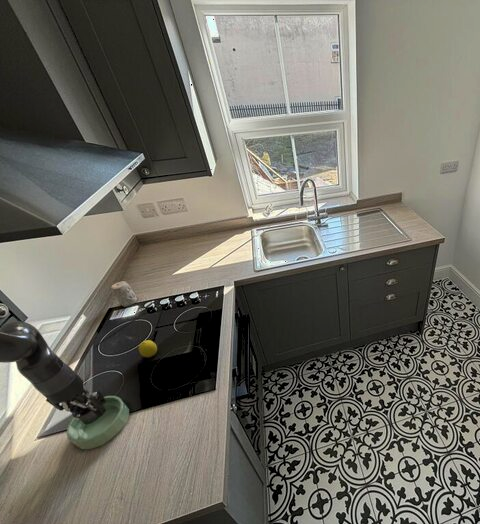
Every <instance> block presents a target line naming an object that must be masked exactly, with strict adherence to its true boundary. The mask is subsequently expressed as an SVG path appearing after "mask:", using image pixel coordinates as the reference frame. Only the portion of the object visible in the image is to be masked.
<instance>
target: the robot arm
mask: <svg viewBox="0 0 480 524" xmlns="http://www.w3.org/2000/svg"><path fill="white" fill-rule="evenodd" d="M3 325H4V326H3V327H2V328H1V330H0V363H3V364H4V363H5V364H9V363H15V364H16V369H17V371H18V372H19V374H20V375H21V376H22V377H23V378H24V379H26V380H27V381H29V383H31V385H32V386H33V387H34V388H35V390H37V391H38V392H39V393H40V394H41V395H42V396H43V397H45V398H46V399H45V401H46V402H47V403H49V404H50V405H51V406H52V407H54V408H55V409H57V410H58V411H60V412H61V411H64V410H65V412H67V413H68V412H70V413H71V414H72V413H73V410H74V409H75V407H76V406H77V405H78V406H80V407H82V408H89V409H91V410H93V412H94V413H95V414H96V415H98V416H99V417H100V416H103V414H104V413H105V411H106V409H105V408H104V407H103V405H104V403H105V402H106V400H105V398H104V397H105V396H104V395H103V394H102V393H101V392H100V391H99V390H98V389H95V390H94V391H93V392H90V391H89V390H88V389H87V390H86V389H85V388H84V384H85V383H84V380H83V379H82V378H81V376H79V374H78V373H76V371H75V370H74V369H73V368H71V366H69V365H68V364H67V363H65V362H64V361H63V360H62V359H61V358H60V357H59V356H58V354H56V353H55V352H54V351H53V350H52V349H51V347H50V346H49V344H48V342H47V340H46V339H45V338H44V337H43V334H41V332H40V331H39V330H38V328H36V327H35V326H34V325H33V324H31V323H29V322H26V321H22V320H21V321H19V320H15V321H8V322H5V323H4V324H3ZM88 398H89V400H88V402H87V403H86V404H84V403H85V402H86V400H87V399H88ZM91 403H93V405H94V406H92V405H91Z"/></svg>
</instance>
